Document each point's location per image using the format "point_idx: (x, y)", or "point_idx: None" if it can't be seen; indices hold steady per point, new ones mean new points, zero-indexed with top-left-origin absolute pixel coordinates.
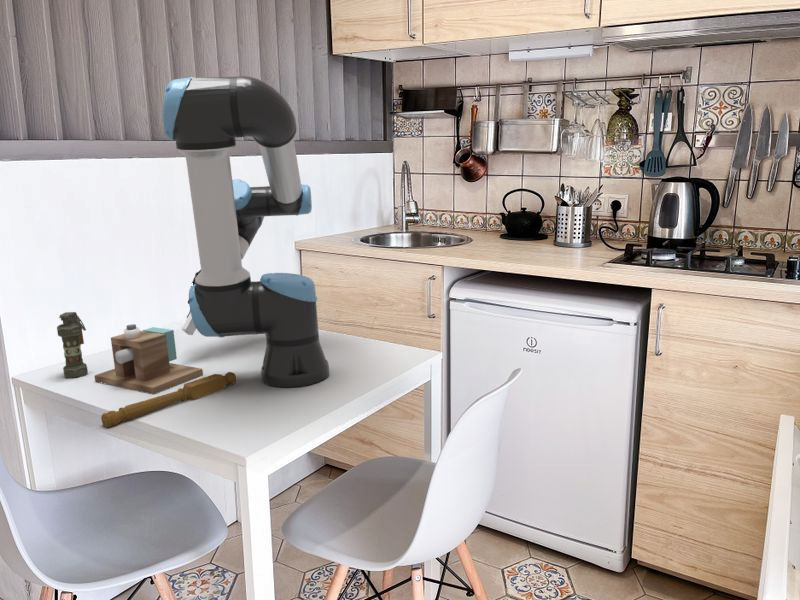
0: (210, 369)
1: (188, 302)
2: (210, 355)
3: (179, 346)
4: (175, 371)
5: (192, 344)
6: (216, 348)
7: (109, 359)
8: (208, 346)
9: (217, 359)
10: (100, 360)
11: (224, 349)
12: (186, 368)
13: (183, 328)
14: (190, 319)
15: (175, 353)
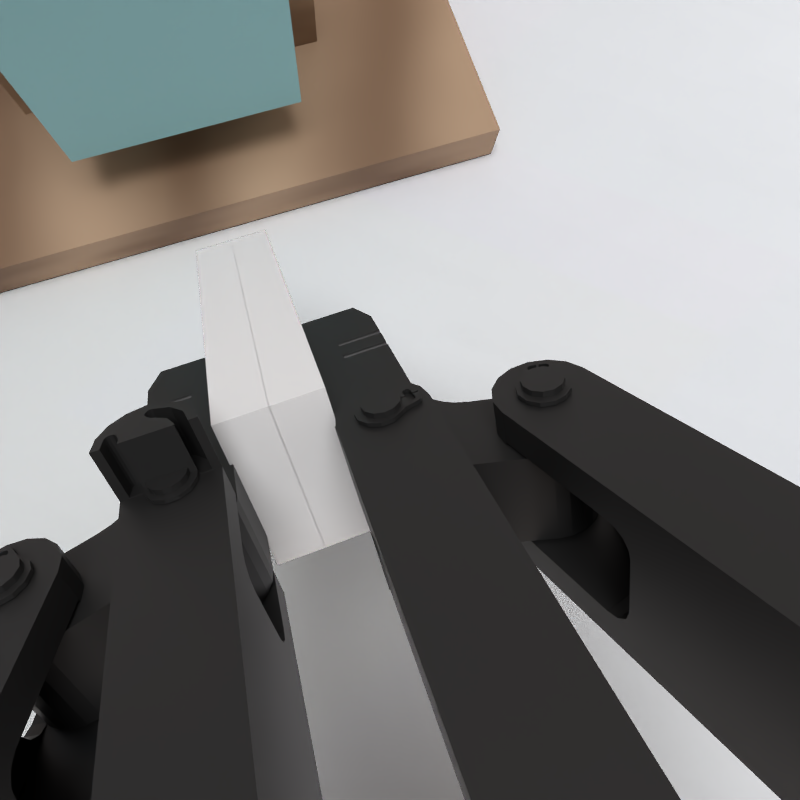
0: (7, 405)
1: (548, 370)
2: (346, 564)
3: None
4: (13, 144)
5: None
6: None
7: (775, 48)
8: (607, 668)
9: None
10: (790, 7)
11: (421, 729)
12: (12, 223)
13: (241, 241)
14: (214, 303)
15: (47, 127)
